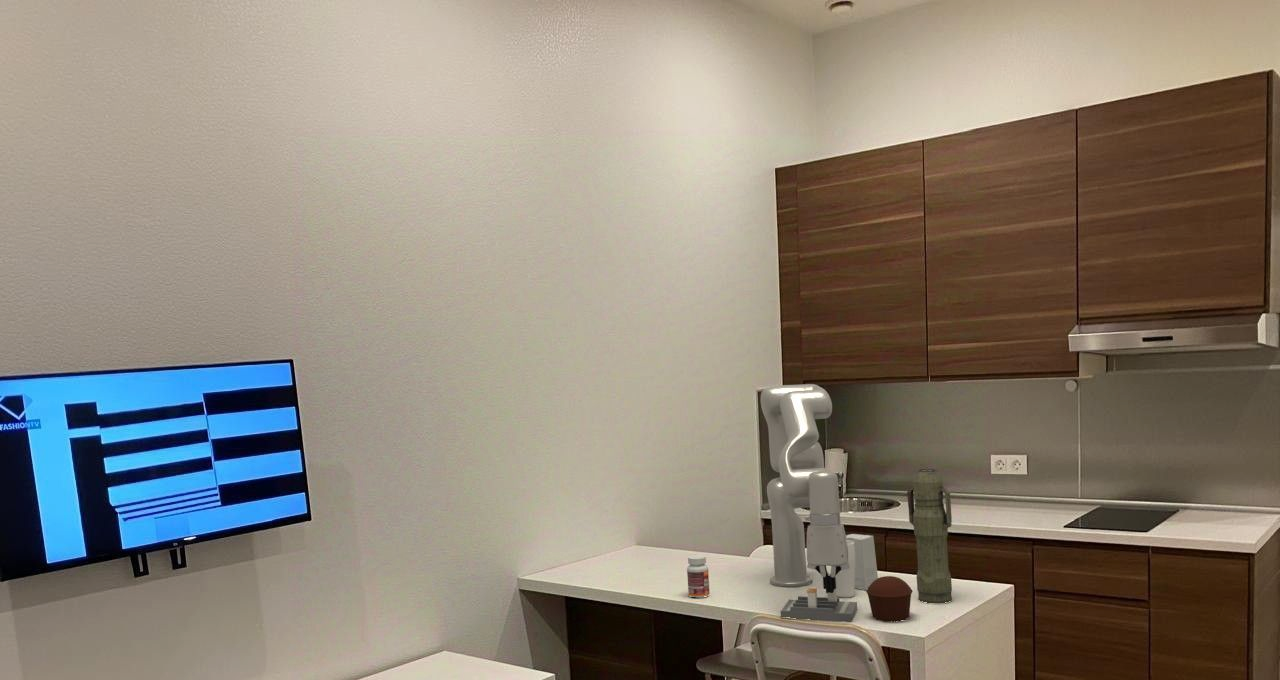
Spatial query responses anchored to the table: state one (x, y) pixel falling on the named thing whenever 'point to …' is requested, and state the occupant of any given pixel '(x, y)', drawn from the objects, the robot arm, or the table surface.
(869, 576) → the skincare box
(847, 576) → the drinking glass
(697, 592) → the pill bottle
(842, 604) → the grey ridged tray
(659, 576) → the table surface
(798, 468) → the robot arm
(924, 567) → the green vase with handles
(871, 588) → the muffin
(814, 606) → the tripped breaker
